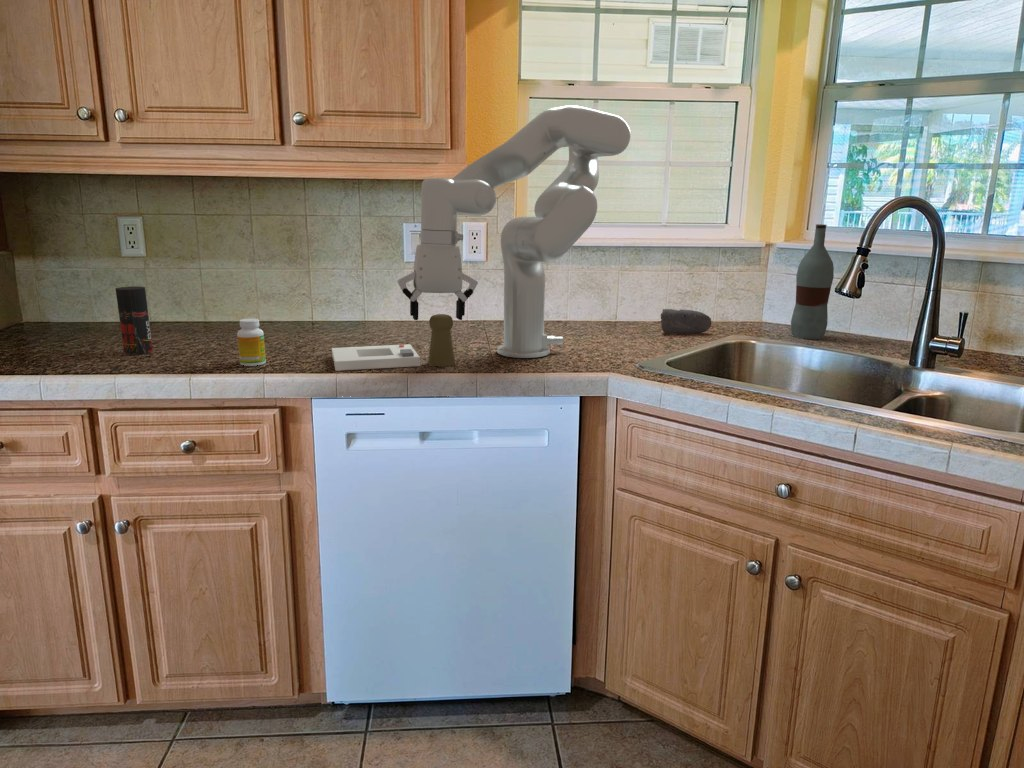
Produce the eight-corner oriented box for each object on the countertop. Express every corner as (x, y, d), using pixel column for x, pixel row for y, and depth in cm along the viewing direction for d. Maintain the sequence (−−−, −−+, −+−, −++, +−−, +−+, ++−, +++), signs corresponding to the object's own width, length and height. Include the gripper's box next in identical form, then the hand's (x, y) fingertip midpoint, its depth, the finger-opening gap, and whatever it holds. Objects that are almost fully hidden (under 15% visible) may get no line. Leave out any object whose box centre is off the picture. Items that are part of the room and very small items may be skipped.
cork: (441, 359, 158) (441, 311, 155) (461, 363, 154) (460, 314, 151) (422, 363, 153) (421, 314, 150) (441, 368, 149) (441, 317, 147)
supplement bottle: (266, 365, 150) (262, 321, 147) (239, 367, 148) (235, 322, 146) (265, 360, 155) (262, 317, 152) (240, 361, 153) (236, 318, 150)
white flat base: (410, 352, 164) (409, 340, 163) (420, 365, 151) (419, 353, 150) (332, 356, 159) (331, 344, 158) (335, 370, 146) (334, 357, 145)
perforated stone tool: (707, 332, 195) (709, 307, 193) (714, 335, 189) (716, 310, 188) (655, 332, 193) (656, 307, 192) (660, 335, 188) (662, 310, 187)
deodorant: (125, 350, 162) (116, 287, 158) (153, 349, 165) (145, 286, 161) (122, 356, 157) (113, 290, 153) (152, 354, 159) (144, 289, 155)
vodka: (833, 339, 186) (848, 225, 179) (806, 341, 183) (820, 225, 176) (808, 332, 195) (822, 223, 187) (781, 334, 192) (794, 223, 184)
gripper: (474, 239, 152) (472, 316, 156) (395, 237, 147) (395, 316, 151) (482, 241, 145) (480, 321, 150) (400, 238, 140) (400, 322, 144)
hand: (437, 319), depth 150 cm, fingers open, 9 cm apart
